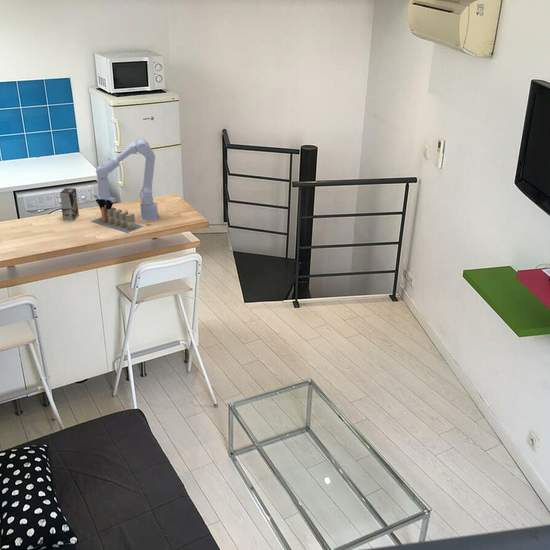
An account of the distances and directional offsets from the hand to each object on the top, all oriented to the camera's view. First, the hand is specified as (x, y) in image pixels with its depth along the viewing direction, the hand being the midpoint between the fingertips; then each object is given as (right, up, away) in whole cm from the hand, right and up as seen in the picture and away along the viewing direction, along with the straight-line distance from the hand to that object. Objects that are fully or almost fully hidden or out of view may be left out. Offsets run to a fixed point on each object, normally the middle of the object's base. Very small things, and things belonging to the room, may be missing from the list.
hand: (106, 212), depth 340 cm
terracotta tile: (0, -5, +2) cm, 5 cm away
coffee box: (-21, -3, +5) cm, 22 cm away
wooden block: (+11, -8, -4) cm, 15 cm away
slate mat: (+6, -7, -1) cm, 9 cm away
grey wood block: (+4, -6, 0) cm, 7 cm away
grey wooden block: (+8, -7, -2) cm, 11 cm away
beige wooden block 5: (+15, -9, -7) cm, 19 cm away
